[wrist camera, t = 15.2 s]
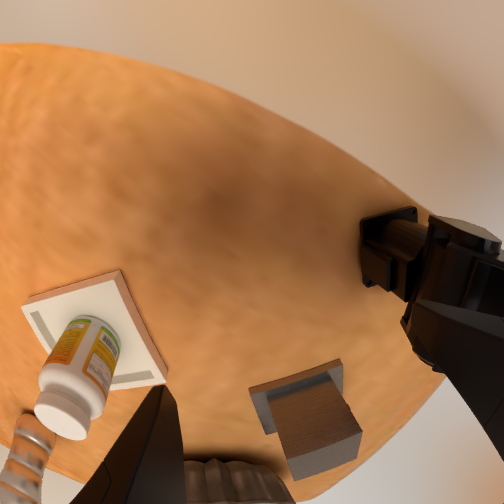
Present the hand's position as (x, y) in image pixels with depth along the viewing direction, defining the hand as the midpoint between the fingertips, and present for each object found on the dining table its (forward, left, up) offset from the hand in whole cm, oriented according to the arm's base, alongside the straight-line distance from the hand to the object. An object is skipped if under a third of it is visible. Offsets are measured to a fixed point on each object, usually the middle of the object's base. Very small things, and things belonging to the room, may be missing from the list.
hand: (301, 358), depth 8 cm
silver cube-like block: (-2, +20, -13) cm, 24 cm away
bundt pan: (+15, +38, -13) cm, 43 cm away
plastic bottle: (+35, +18, -13) cm, 42 cm away
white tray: (+15, +5, -13) cm, 20 cm away
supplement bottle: (+15, +5, -13) cm, 20 cm away
